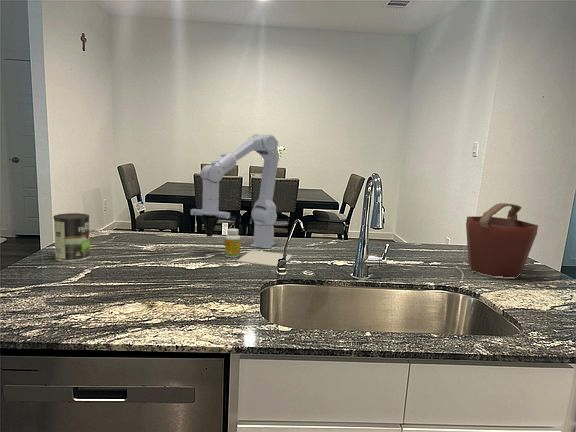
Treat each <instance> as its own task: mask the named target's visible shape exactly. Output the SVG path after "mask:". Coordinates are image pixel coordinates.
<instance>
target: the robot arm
mask: <svg viewBox="0 0 576 432" xmlns="http://www.w3.org/2000/svg"><path fill="white" fill-rule="evenodd" d="M278 147H279V141H278V140H277V139H276V137H275V136H274V135H273V134H258V133H255V134H253V135H251V137H248V138H247V140H246V141H245V142H243V143H242V144H241V145H240V146H239V147H236V149H235V150H233V151H232V152H231V153H229V152H226V153H221V154H220V157H218V158H217V159H215V160H212V161H211V163H210V164H207V165H204V166H203V167H202V169H201V171H200V172H199V176H200V178H201V179H202V206H201V208H192V209H190V215H191V216H202V217H200V221H201V222H202V224H203V226H204V229H205V234H206V237H210V238H211V237H213V235H214V232H215V228H216V225H217V223H218V222H219V221H220V219H221V218H222V219H226V220H227V219H230V218H231V212H228V211H222V210H219V205H220V203H219V201H220V181H222V179H223V178H224V175H225V174H227V173H228V172H229V171H231V170H232V169H233V168H234V167H236V165H237V162H238V161H239V160H240V159H242V158H244V157H245V156H246V155H248V154H250V153H251V152H253V151H254V152H256V153H258V154H259V155H260V156H261V158H262V159H263V168H262V173H261V181H260V188H259V195H258V199H257V200H256V201H255V202H254V205H253V208H252V210H251V214H250V216H251V219H252V220H253V223H254V228H253V229H254V230H253V243H251V244H250V245H249V246H250V247H253V248H261V249H271V247H273V246H274V245H275V244H276V241H274V237H275V227H274V225H275V223H276V221H277V217H278V214H277V206H276V204H275V202H274V201H273V199H274V194H275V185H276V178H277V172H278V165H279V156H280V155H279V150H278Z"/></svg>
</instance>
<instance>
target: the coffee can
mask: <svg viewBox="0 0 576 432" xmlns="http://www.w3.org/2000/svg"><path fill="white" fill-rule="evenodd" d="M52 218H53V223H54V225H53V229H54V232H53V233H54V251H55V252H54V253H55V254H54V255H55V258H54V260H55V261H57V262H63V263H75V262H81V261H86V260H89V259H90V258H91V252H90V250H91V249H90V214H86V213H78V212H75V213H74V212H73V213H71V212H70V213H68V212H67V213H60V214H55V215H53V217H52Z"/></svg>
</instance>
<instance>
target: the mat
mask: <svg viewBox="0 0 576 432" xmlns="http://www.w3.org/2000/svg"><path fill="white" fill-rule="evenodd" d="M283 254H284V253H278V252H273V251H272V252H271V251H270V252H269V251H263V250H255V249H254V250H253V249H252V250H250V251H248V252H247V253H246V254H244V255H242V256H241V257H240V258H239V259H237V260H236V263H242V264H243V263H244V264H250V265H258V266H265V267H272V266H275V268H277V267H276V266H277V263H278V260H279V259H282V258H283ZM286 254H287V253H286ZM293 257H294V255H293V254H289V253H288V254H287V256H286V261H287V262H288V261H289V260H290V259H292V258H293Z"/></svg>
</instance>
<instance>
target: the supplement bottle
mask: <svg viewBox="0 0 576 432" xmlns="http://www.w3.org/2000/svg"><path fill="white" fill-rule="evenodd" d="M226 233H227V234H226V235H225V238H224V256H225V257H226V258H233V259H235V258H239V257H240V255H241V236H240V235H239V229H238V228H228V229H227V231H226Z"/></svg>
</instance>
